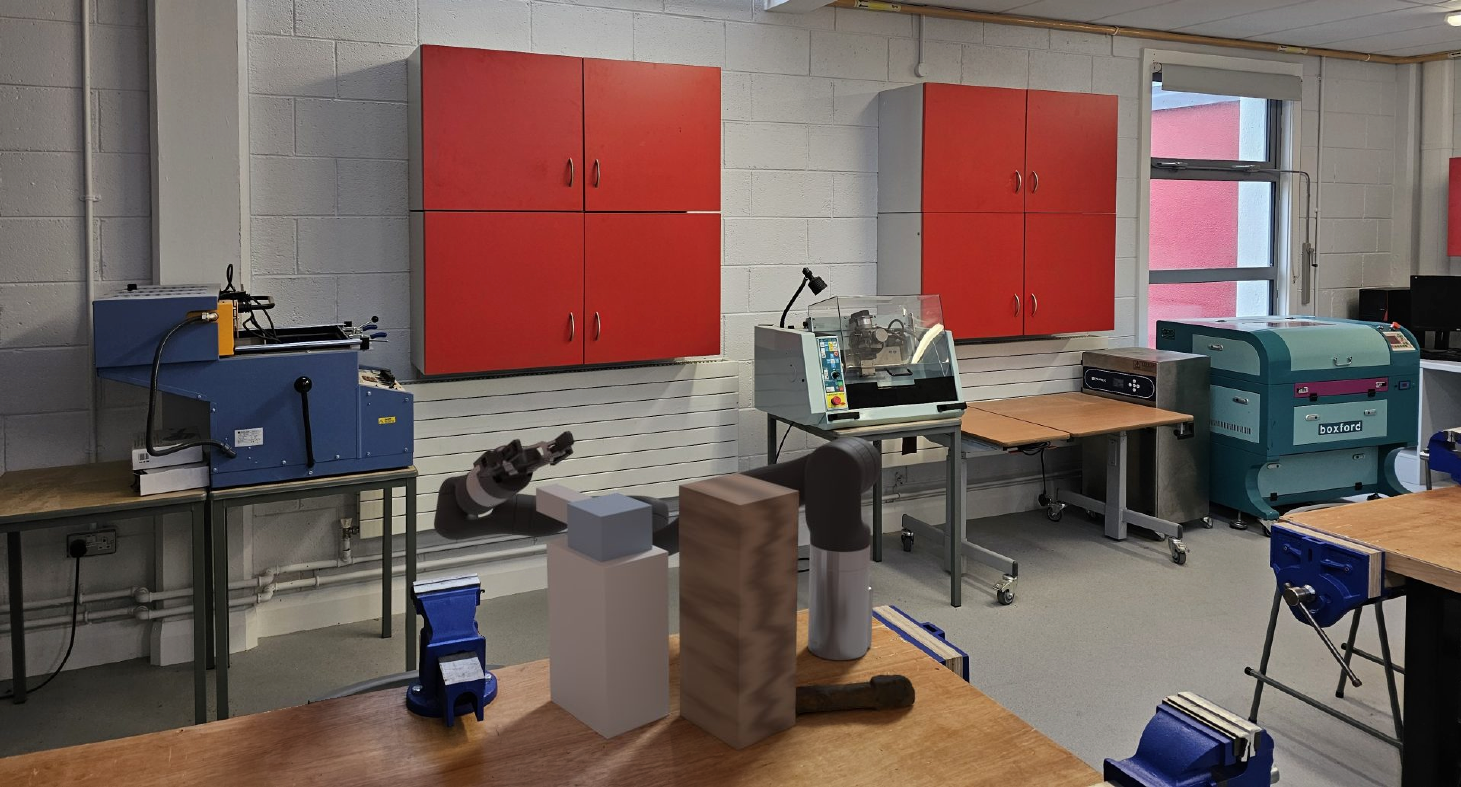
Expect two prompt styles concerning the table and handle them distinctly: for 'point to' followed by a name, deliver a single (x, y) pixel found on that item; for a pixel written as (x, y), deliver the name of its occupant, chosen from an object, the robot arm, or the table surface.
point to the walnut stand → (738, 607)
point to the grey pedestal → (609, 637)
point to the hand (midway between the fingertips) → (545, 441)
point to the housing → (599, 521)
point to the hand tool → (857, 695)
